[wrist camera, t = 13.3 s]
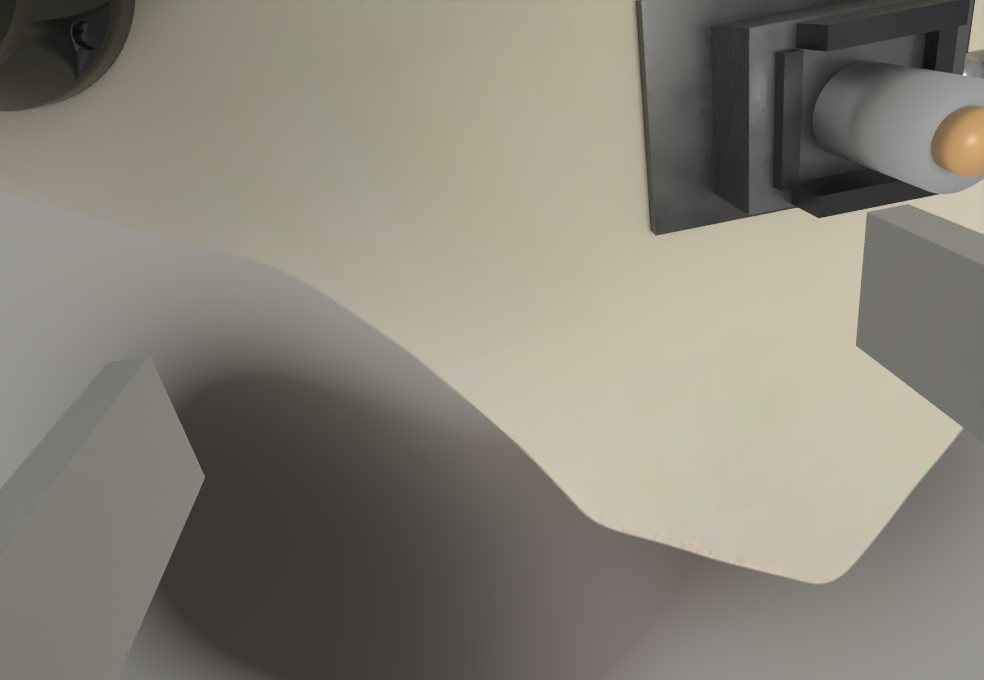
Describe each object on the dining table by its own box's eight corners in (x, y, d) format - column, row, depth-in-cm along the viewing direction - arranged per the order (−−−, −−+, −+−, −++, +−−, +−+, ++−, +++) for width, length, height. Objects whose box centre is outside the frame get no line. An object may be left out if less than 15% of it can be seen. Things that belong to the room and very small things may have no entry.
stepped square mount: (651, 230, 46) (702, 279, 38) (636, 0, 39) (693, -1, 31) (940, 173, 46) (1052, 209, 38) (970, -64, 40) (1112, -81, 32)
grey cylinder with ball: (807, 161, 38) (915, 208, 30) (818, 67, 36) (937, 90, 28) (893, 149, 39) (1022, 193, 31) (908, 55, 36) (1053, 74, 28)
